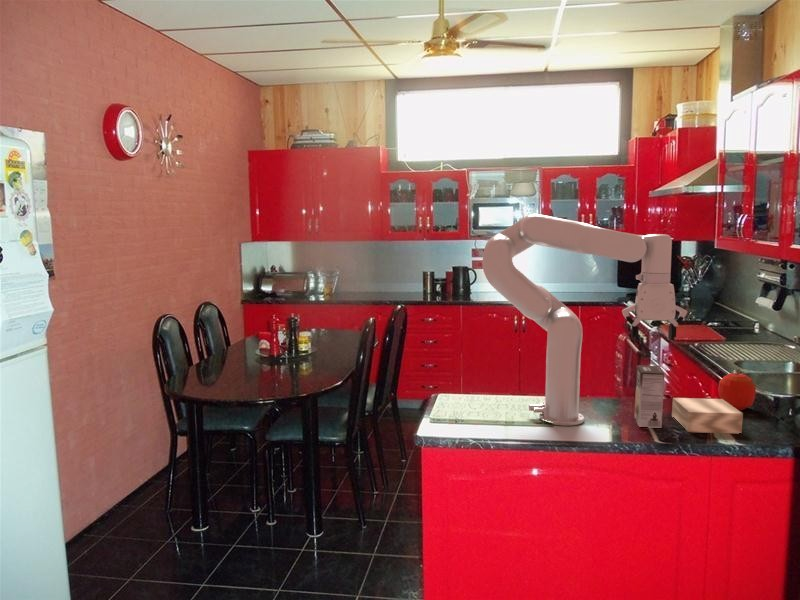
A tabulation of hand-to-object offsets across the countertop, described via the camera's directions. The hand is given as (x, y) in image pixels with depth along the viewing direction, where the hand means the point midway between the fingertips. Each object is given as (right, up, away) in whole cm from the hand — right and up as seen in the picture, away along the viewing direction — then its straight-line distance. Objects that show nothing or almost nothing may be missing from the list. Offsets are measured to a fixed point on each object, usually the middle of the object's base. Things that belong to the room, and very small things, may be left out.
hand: (653, 339), depth 182 cm
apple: (+33, -22, +18) cm, 44 cm away
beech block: (+16, -25, +2) cm, 29 cm away
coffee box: (0, -24, +3) cm, 25 cm away
